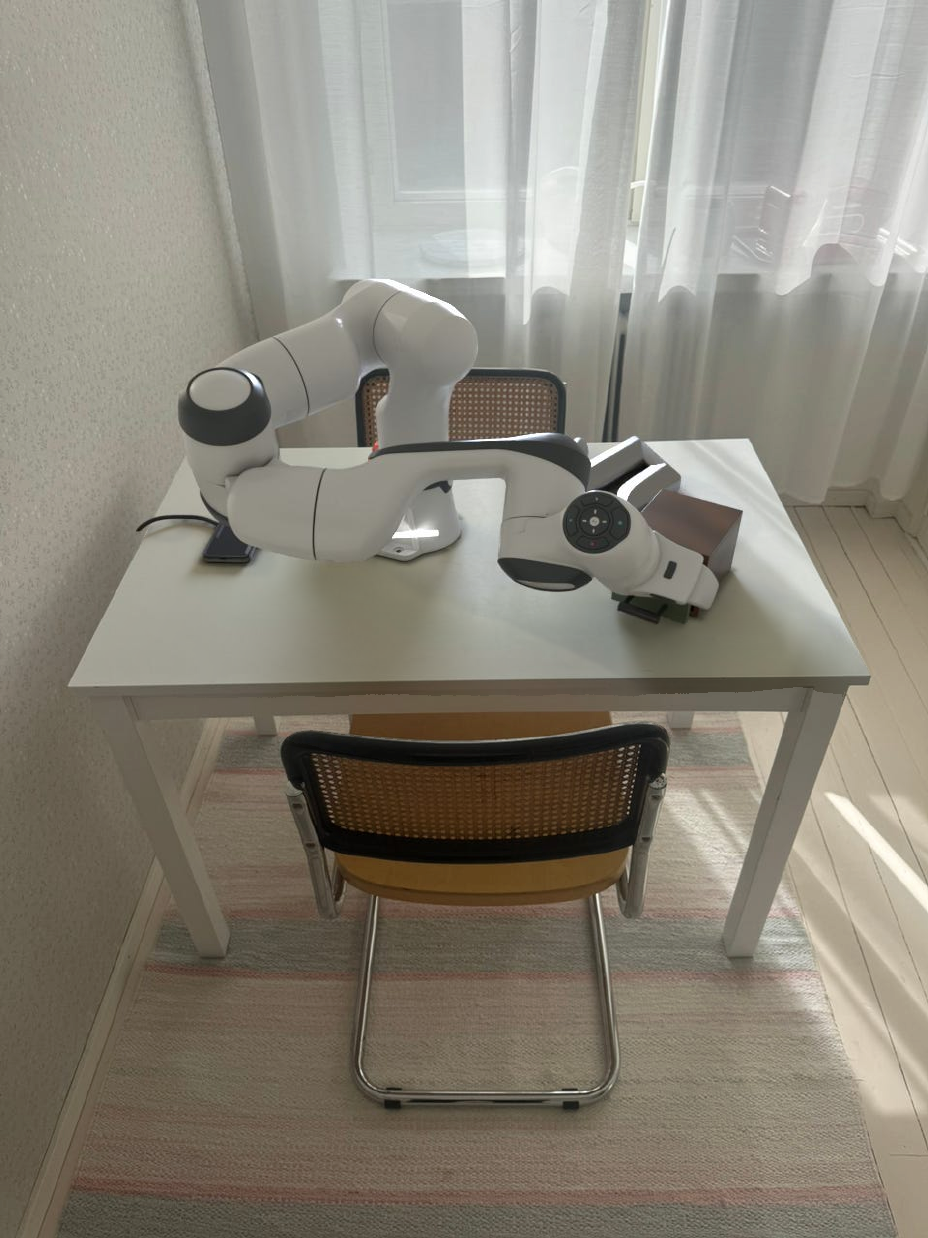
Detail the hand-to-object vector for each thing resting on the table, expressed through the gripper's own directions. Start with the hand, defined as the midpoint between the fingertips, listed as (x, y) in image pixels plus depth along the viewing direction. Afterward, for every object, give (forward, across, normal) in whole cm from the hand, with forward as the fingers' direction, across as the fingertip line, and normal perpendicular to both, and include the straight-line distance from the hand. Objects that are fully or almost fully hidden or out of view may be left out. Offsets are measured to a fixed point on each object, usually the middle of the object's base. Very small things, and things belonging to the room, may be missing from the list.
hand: (649, 582), depth 116 cm
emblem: (+26, -22, +17) cm, 39 cm away
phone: (-6, -66, -15) cm, 68 cm away
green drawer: (+7, 0, 0) cm, 7 cm away
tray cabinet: (+12, 0, +3) cm, 13 cm away
